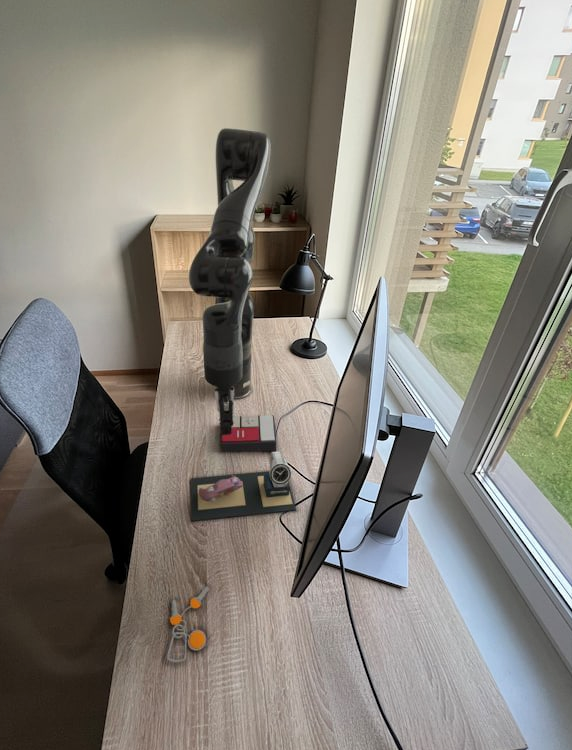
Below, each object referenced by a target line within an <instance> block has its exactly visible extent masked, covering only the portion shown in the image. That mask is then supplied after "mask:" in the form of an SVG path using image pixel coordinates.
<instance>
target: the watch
mask: <svg viewBox="0 0 572 750" xmlns="http://www.w3.org/2000/svg"><path fill="white" fill-rule="evenodd" d="M269 471H270V472H269V474H264V481H263V483H264V488H265V493H266V497H276V496H286V495H289V491H290V488H291V485H289V484H290V479H291V477H292V475H293V470H292V469H291V468H290V466H289V464H288V462H287V460H286V459H285V457H284V454H283V452H282V451H280V450H279V451H270V457H269Z"/></svg>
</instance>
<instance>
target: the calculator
mask: <svg viewBox="0 0 572 750" xmlns="http://www.w3.org/2000/svg"><path fill="white" fill-rule="evenodd" d="M275 421H276V420H275V415H274V414H260V415H258V414H247V415H246V414H245V415H233V423H234V424H233V426H231V431H232V433H231V434H230V435H221V434H220V439H219V446H220V452H247V451H249V452H250V451H260V452H277V434H276V433H277V432H276V422H275Z"/></svg>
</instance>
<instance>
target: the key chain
mask: <svg viewBox="0 0 572 750" xmlns="http://www.w3.org/2000/svg"><path fill="white" fill-rule="evenodd" d="M209 591H210V588H209V586H205V587H204V588H203V590H201V592H200V593H199V594H198V596H196V597H192V598H191V599H190V601H189V604H190V605H189V606H187V607H186V608H185V609H183V611H182V612H181V614H180V613H178V606H177V605H178V604H177V600H176V599H173V600H171V602H170V604H171V608H170V610H171V616H170V617H169V622H170V624H171V625H172V626H173V627H172V629H171V634H172V636H171V640H170V642H169V646H168V650H167V654H166V661H168V662H169V663H175V664H177V663H178V664H179V663H182V662H183V663H184V662H186V660H187V656H188V655H187V644H188V648H190V650H192V651H193V652H199V651H201V650H203V649H204V647H205V645H206V643H207V636H206V633H205V632H204V631H203V630H201V629H195V630H193V631H192V632H191V633H190V634H188V633H186V628H187V621H186V620H184V619H182V618H183V616H184V614H185V613H186V611H188V610H189V609H193V610H194V609H199V608H200V607H201V606H202V601H203V598H205V597H206V595H207V592H209ZM181 622H183V623H184V625H182V624H180V623H181ZM180 628H181V629H180ZM175 629H176V630H177V632H175ZM187 637H188V638H187ZM182 638H183V641H184V654H183V658H181V659H172V658H170V655H171V650H172V646H173V642H174V640H175V639H182Z"/></svg>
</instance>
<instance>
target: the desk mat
mask: <svg viewBox="0 0 572 750" xmlns="http://www.w3.org/2000/svg"><path fill="white" fill-rule="evenodd" d="M269 472H270V470H265V471H257V472H245V473H235V474H233V473H232V474H223V475H214V476H213V475H212V476H204V477H203V476H202V477H191V479H190V484H191V485H190V486H191V489H190V490H191V491H190V493H191V494H190V495H191V522H199V521H209V520H218V519H227V518H239V517H247V516H259V515H265V514H266V515H267V514H276V513H285V512H295V511H297V507H296V504H295V499H294V496H293V492H292V488H291V487H290V491H289V495H286V496H276V497H266V493H265V488H264V483H263V481H264V474H269ZM231 476H236V477H238V478H239V479H240V481H241V483H242V487H241V488H239V489H237V490H235V491H233V492H232V493H231V494H230V495H224V493H220V495H221V497H219V498H217V499H216V500H215V501H214V502H211V501H212V500H210V501H205V500H203V499H202V498H201V497H200V495H199V489H200V488H204V489H205V488H207V487H209V486H211V485H214V484H215V483H217V482H218V481H219V480H223V479H229V478H231ZM289 485H290V483H289ZM290 486H291V485H290Z"/></svg>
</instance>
